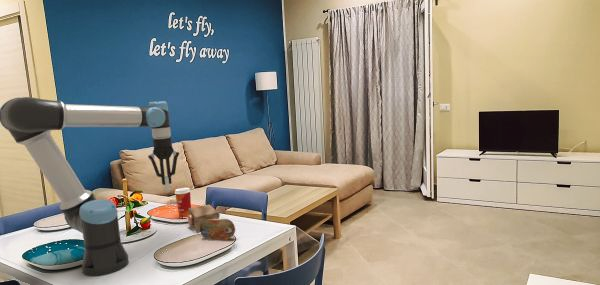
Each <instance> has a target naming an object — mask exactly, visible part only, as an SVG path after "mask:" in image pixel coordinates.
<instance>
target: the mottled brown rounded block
mask: <svg viewBox="0 0 600 285" xmlns="http://www.w3.org/2000/svg"><path fill="white" fill-rule="evenodd" d="M199 233H200V234H201V236H202V237H203V238H204V239H206V240H208V241H209V240H211V241H228V240H230V239H232V237H233V236H235V233H236V227H235V224H234V222H233V221H232V220H230V219H228V218H219V219H207V220H205V221H203V222H202V223H201V225H200V232H199Z"/></svg>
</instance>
